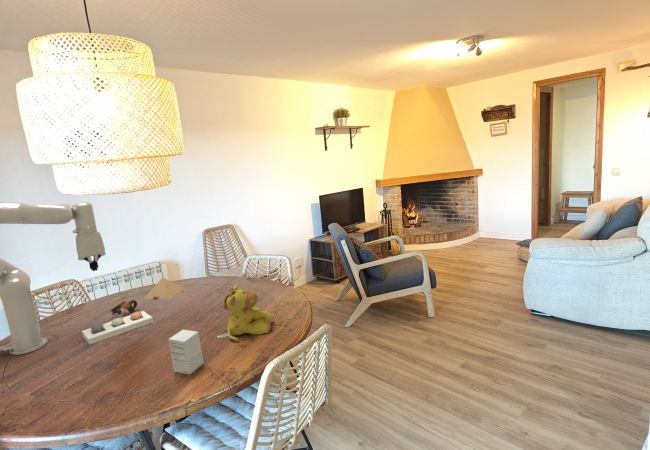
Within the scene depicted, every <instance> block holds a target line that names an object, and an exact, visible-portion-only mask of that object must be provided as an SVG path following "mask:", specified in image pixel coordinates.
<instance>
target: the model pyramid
mask: <svg viewBox="0 0 650 450" xmlns="http://www.w3.org/2000/svg"><path fill="white" fill-rule="evenodd" d="M185 289H186V287H184V286H182V285H180V284H177V283H176V282H174V281H172V280H170V279H167V278H165V277H161V278H160V279H159V281H158V282H157V283H156V284H155V285H154V286H153V287H152V289H151V290H149V292H147V294H146V295H145V296H144V298H143V300H163V299H164V300H167V299H168V300H169V299H171V298H173V297H174V296H176V295H178V294H179V293H181V292H182V291H183V290H185Z"/></svg>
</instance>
